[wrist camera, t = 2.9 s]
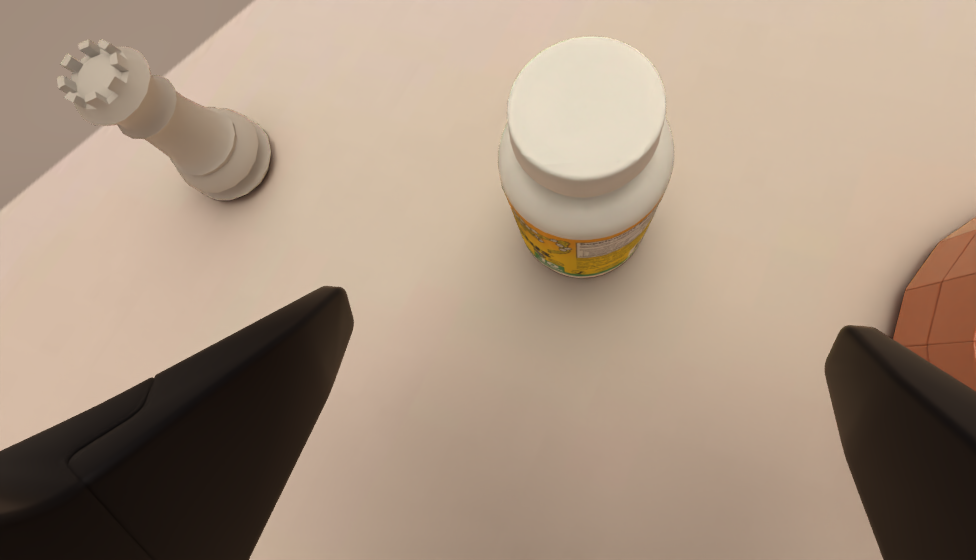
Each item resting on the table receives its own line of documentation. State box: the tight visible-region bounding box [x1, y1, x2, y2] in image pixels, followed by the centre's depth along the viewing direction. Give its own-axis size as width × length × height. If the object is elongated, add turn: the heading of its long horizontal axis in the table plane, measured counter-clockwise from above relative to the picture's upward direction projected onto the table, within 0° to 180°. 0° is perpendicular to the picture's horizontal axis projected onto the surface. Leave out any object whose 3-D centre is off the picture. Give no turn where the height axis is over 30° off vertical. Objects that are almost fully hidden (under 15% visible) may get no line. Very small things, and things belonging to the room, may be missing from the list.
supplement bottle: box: [498, 36, 674, 278], centre depth 17 cm, size 5×5×10 cm
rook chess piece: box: [57, 39, 271, 200], centre depth 21 cm, size 4×4×8 cm
